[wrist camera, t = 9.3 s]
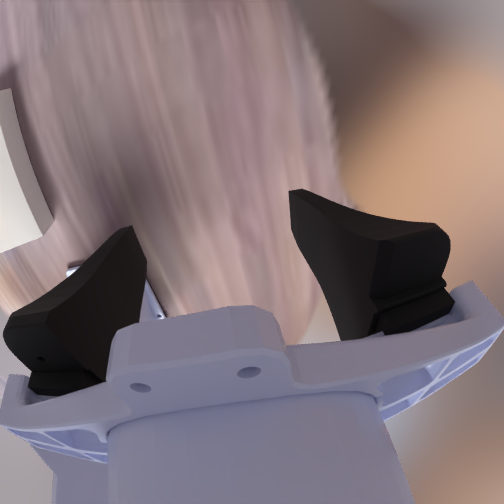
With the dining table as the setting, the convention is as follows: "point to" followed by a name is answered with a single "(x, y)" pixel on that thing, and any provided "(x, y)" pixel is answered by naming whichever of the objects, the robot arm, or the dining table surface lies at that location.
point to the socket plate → (18, 184)
